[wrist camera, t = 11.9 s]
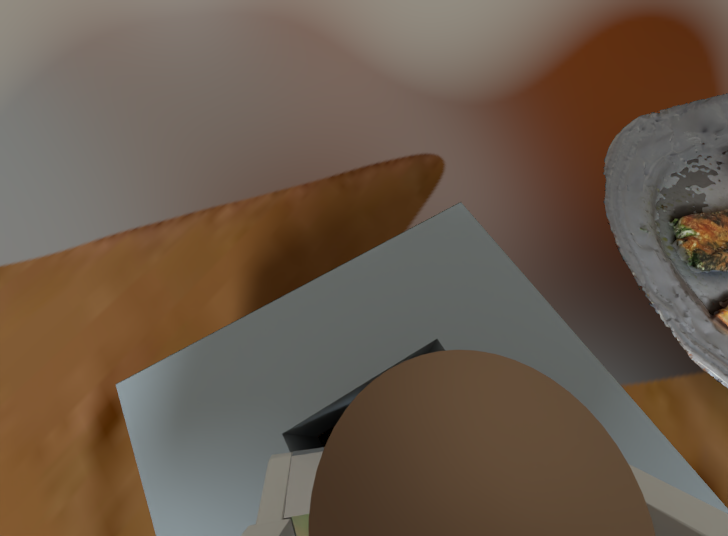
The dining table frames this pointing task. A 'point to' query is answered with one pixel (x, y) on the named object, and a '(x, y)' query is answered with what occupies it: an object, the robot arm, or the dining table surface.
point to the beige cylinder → (472, 457)
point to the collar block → (354, 371)
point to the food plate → (677, 220)
